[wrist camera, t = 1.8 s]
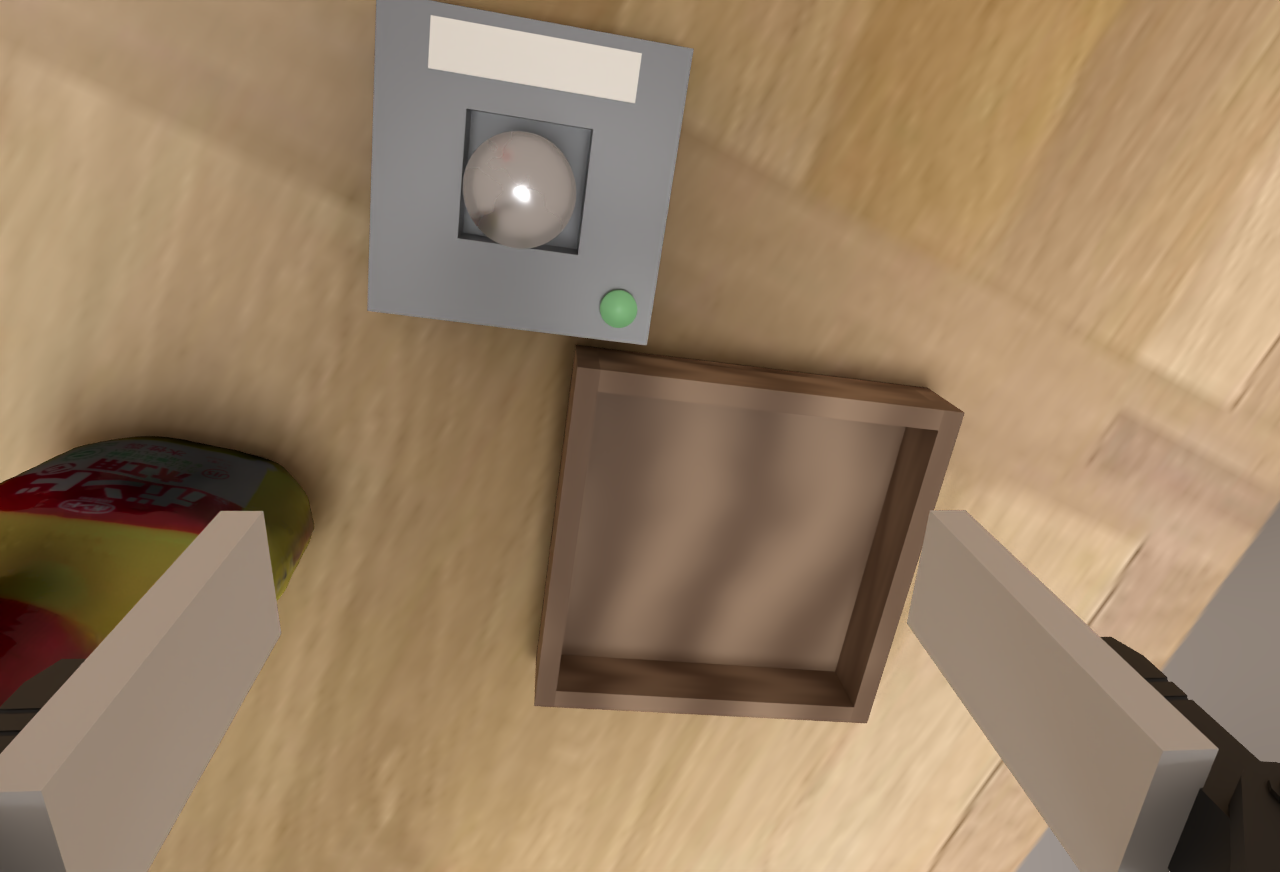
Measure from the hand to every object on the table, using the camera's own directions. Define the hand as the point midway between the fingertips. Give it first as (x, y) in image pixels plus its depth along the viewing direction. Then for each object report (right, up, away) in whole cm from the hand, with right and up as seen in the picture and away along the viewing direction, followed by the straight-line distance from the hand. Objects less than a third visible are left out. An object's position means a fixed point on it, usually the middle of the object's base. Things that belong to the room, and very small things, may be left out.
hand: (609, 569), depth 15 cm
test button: (-4, +13, +16) cm, 21 cm away
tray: (+5, -2, +25) cm, 26 cm away
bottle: (-20, 0, +22) cm, 30 cm away
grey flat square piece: (-4, +14, +18) cm, 23 cm away
